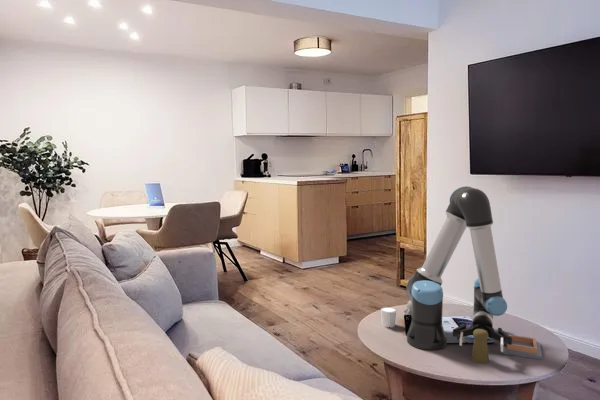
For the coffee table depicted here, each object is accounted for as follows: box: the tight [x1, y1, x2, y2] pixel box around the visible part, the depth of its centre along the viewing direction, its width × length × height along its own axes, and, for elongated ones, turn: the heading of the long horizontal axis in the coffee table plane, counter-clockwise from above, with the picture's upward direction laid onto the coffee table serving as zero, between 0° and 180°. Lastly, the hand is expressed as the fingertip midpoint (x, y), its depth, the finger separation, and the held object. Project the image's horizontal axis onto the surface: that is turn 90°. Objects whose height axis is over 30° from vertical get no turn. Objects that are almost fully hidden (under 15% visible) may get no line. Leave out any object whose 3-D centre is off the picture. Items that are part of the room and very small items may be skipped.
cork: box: [470, 329, 490, 364], centre depth 158 cm, size 6×6×11 cm
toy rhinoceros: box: [403, 300, 412, 316], centre depth 201 cm, size 7×12×8 cm, turn 90°
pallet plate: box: [502, 334, 543, 360], centre depth 167 cm, size 13×13×3 cm
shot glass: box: [380, 306, 397, 328], centre depth 192 cm, size 7×7×7 cm
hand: (481, 345), depth 156 cm, fingers open, 13 cm apart
